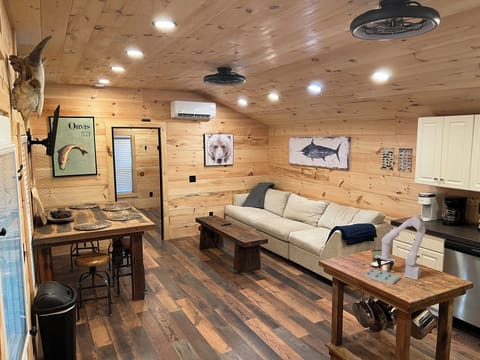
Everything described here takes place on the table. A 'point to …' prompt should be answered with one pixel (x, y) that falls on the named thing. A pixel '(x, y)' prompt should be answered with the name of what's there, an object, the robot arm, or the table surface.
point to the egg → (385, 268)
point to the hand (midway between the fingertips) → (385, 269)
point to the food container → (376, 253)
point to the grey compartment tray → (382, 276)
